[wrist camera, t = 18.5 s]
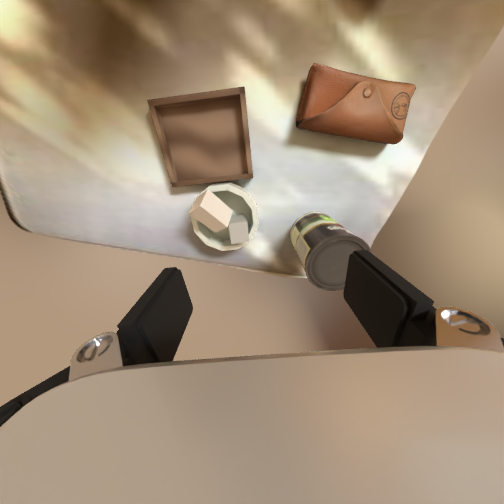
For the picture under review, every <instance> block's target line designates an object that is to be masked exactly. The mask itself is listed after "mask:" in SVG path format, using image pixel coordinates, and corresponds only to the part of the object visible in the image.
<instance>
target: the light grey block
mask: <svg viewBox="0 0 504 504" xmlns="http://www.w3.org/2000/svg"><path fill="white" fill-rule="evenodd" d="M228 229H229V235H230V240H231V244H236V243H243V242H249V233H248V223H247V220H246V218H245V216H244V215H243V214H237V215H231V218H230V221H229V224H228Z"/></svg>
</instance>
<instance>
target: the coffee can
mask: <svg viewBox="0 0 504 504" xmlns="http://www.w3.org/2000/svg"><path fill="white" fill-rule="evenodd" d="M290 239H291V243H292V245H293V246H294V248H295V250H296V252H297V254H298V256H299V259H300V261H301V263H302V265H303V267H304V269H305V272H306V275H307V277H308V279H309V281H310V282H311V283H312V284H313V285H314V286H316V287H317V288H320V289H323V290H327V291H336V290H342V289H344V287H345V280H346V274H347V267H348V261H349V255H350V254H352V253H353V251H357V250H368V251H369V252H370V253H371V250H370V247H369V246H368V244H367V243H366V242H365V241H364V240H362V239H361V238H359V237H357V236H355V235H354V234H352V233H351V232H349V231H348V230H347V229H345V228H344V227H343V226H341V225H340V224H338V223H337V222H336V221H334V220H333V219H331V218H330V217H329V216H328V215H327V214H325V213H321V212H311V213H307V214H305V215H303V216H301V217H300V218H299V219H298V220H297V221H296V222H295V223H294V225H293V226H292V229H291V233H290Z"/></svg>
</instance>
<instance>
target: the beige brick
mask: <svg viewBox="0 0 504 504" xmlns="http://www.w3.org/2000/svg"><path fill="white" fill-rule="evenodd" d="M232 212H233V210H231V209H230V208H229V207H228V206H227V205H226V204H225V203H223V202H222V201H221V200H220V199H219V198H218V197H217V196H215V195H214V194H213V193H212V192H211V191H210V190H209V189H207V190H206V191H204V192H203V193H202V194H200V195H199V196H198V197H197V198H196V200H195V202H194V204H193V206H192V208H191V210H190V212H189V214H190V215H191V216H192V217H194V218H195V219H197V220H198V221H199V222H201V223H202V224H204V225H205V226H206V227H208V228H209V229H211V230H212V231H213V232H215V233H216V232H218V231H220V230H223V229H225V228H227V227H228V224H229V221H230V218H231V215H232Z"/></svg>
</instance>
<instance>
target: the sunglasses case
mask: <svg viewBox="0 0 504 504" xmlns="http://www.w3.org/2000/svg"><path fill="white" fill-rule="evenodd" d="M415 89H416V86H415V85H413V84H409V83H401V82H392V81H386V80H381V79H376V78H371V77H367V76H362V75H358V74H353V73H348V72H344V71H341V70H337V69H334V68H331V67H328V66H325V65H321V64H316V63H314V64H313V65H312V67H311V68H310V70H309V74H308V77H307V81H306V84H305V88H304V92H303V96H302V99H301V103H300V107H299V111H298V114H297V118H296V127H297V128H300V129H304V130H309V131H315V132H321V133H326V134H332V135H338V136H345V137H350V138H356V139H362V140H368V141H373V142H380V143H386V144H397V143H398V142H400V141H401V140H402V138H403V130H404V126H405V121H406V117H407V112H408V108H409V104H410V100H411V97H412V95H413V93H414V91H415Z"/></svg>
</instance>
